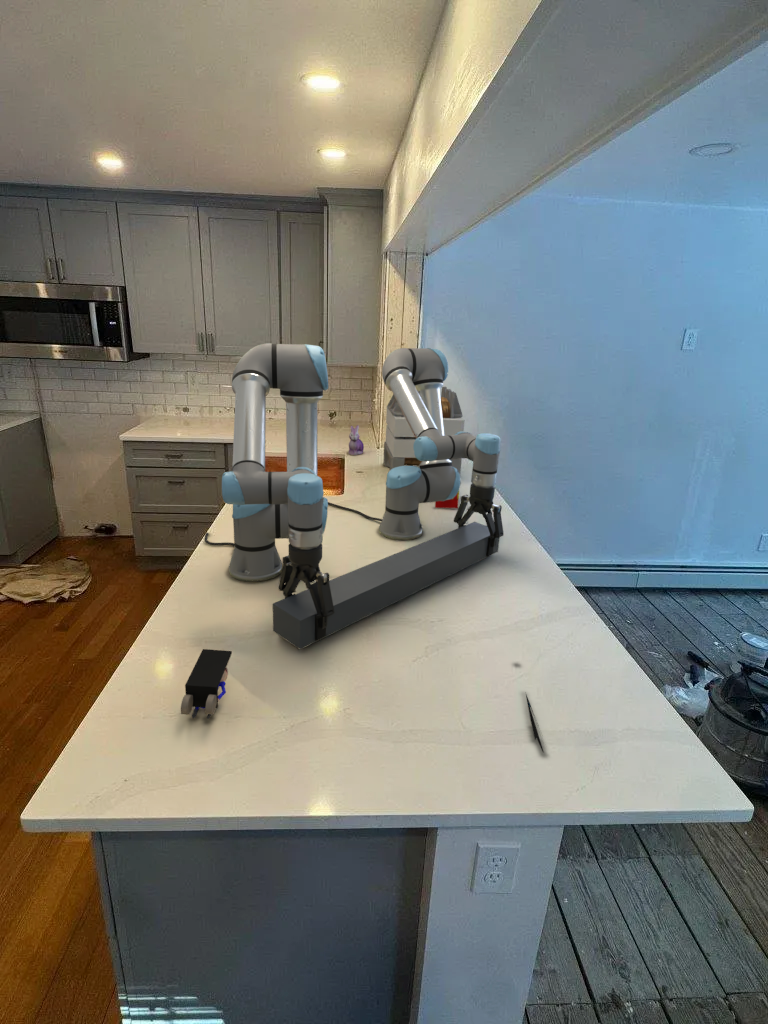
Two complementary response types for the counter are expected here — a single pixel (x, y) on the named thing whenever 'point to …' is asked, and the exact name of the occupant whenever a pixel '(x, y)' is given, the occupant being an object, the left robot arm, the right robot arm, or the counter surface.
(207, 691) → the black toy cart
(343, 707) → the counter surface
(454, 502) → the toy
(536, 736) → the feather
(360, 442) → the figurine
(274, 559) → the left robot arm
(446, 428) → the grey slatted crate
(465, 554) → the dark gray long bar
